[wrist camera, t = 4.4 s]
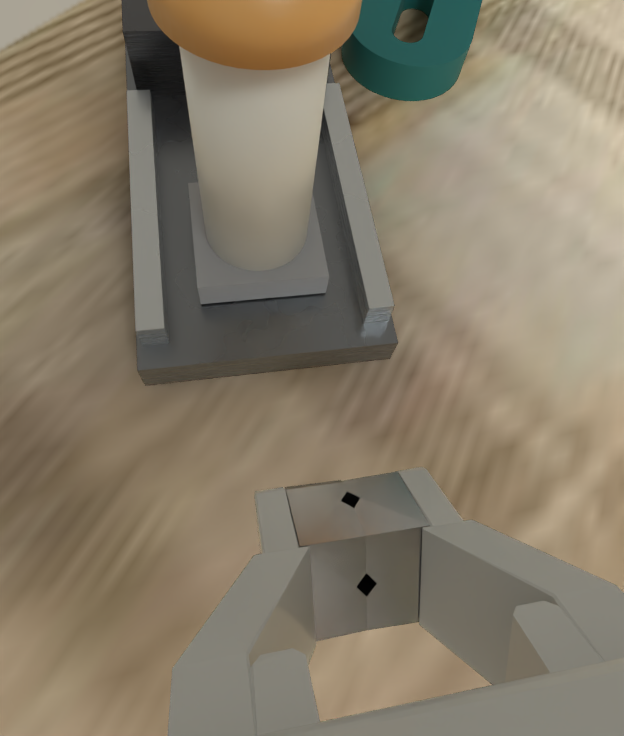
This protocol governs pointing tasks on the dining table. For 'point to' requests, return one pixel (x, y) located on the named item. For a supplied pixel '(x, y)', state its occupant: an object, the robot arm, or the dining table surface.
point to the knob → (256, 137)
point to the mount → (176, 248)
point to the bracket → (410, 48)
